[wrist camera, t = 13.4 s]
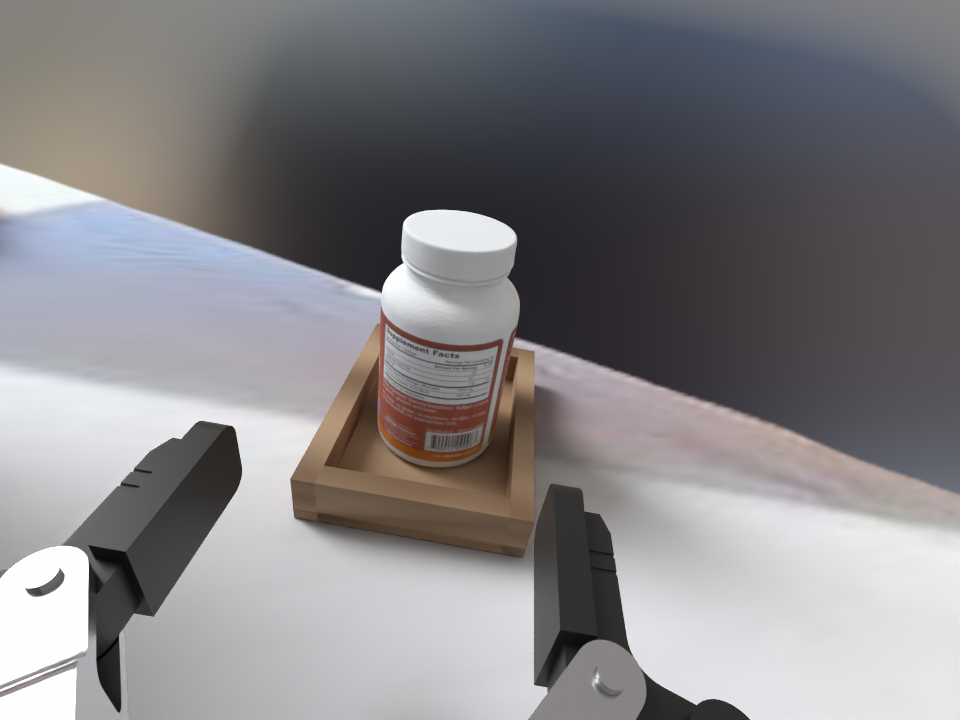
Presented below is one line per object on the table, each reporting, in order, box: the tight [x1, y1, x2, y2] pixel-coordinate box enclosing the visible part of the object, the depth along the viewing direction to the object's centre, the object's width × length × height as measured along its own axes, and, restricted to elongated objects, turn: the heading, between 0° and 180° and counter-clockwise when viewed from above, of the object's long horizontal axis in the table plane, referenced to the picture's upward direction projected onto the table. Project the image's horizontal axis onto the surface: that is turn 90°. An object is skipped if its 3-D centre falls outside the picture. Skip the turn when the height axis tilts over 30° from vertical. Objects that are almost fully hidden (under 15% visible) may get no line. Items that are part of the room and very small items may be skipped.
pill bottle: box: [377, 210, 520, 468], centre depth 23 cm, size 6×6×11 cm
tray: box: [290, 324, 534, 557], centre depth 26 cm, size 13×10×2 cm
